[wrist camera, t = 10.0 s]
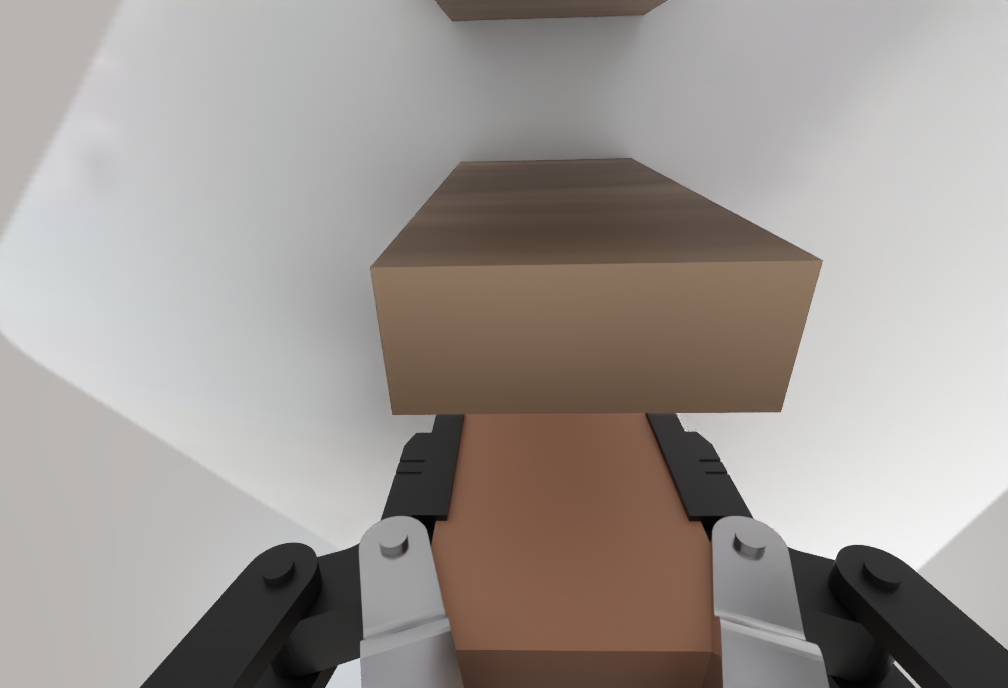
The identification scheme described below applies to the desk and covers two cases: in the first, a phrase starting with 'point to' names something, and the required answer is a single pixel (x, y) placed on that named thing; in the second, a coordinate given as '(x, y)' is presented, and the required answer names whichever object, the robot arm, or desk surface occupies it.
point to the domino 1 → (542, 8)
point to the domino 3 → (571, 557)
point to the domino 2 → (586, 296)
